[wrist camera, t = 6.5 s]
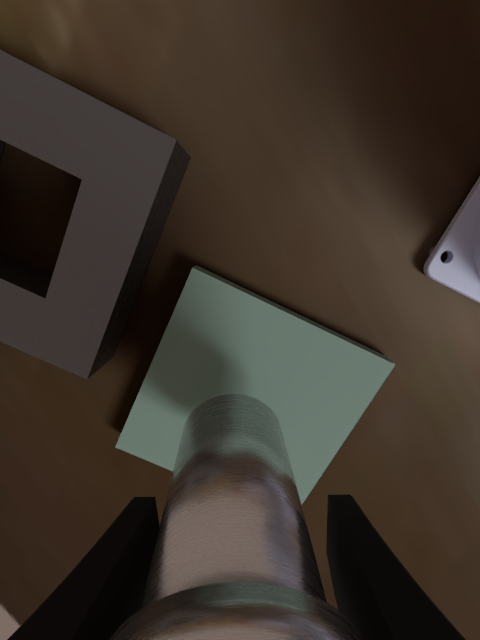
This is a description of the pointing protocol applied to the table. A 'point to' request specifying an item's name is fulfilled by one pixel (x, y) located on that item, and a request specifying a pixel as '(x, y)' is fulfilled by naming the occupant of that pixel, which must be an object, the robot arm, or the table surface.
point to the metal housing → (84, 218)
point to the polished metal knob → (234, 539)
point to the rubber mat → (253, 375)
